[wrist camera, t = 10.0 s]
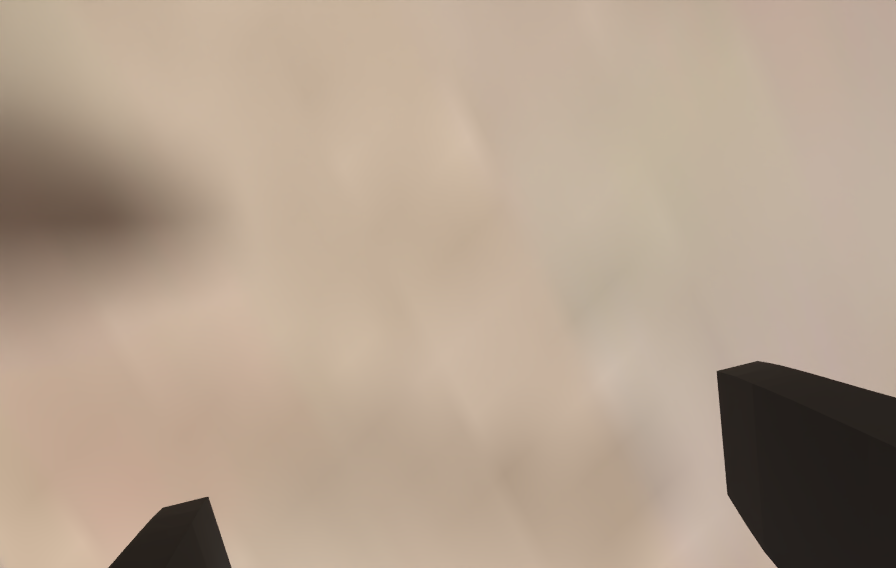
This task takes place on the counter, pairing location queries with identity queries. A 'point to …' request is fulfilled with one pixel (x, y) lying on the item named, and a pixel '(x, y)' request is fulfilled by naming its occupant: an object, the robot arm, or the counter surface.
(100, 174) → the counter surface
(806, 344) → the counter surface
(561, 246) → the counter surface
